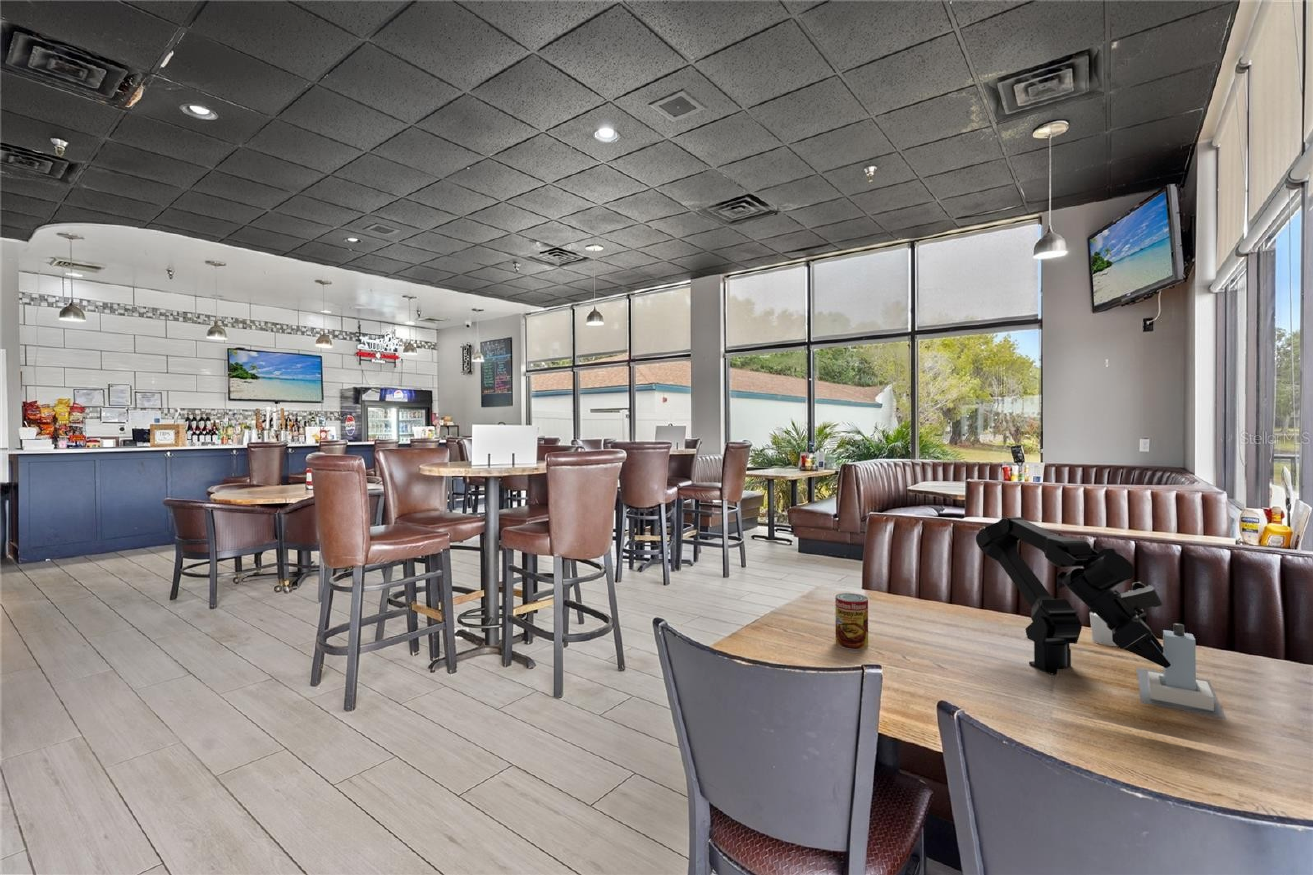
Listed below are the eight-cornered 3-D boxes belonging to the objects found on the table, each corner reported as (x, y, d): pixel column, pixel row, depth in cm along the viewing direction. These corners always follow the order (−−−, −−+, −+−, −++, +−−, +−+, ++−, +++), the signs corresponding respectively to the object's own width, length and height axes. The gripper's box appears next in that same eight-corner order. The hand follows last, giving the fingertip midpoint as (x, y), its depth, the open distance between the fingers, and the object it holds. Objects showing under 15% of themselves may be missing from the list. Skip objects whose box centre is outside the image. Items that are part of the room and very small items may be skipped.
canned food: (834, 647, 150) (833, 599, 150) (837, 638, 157) (836, 592, 157) (867, 651, 147) (867, 602, 147) (869, 641, 154) (868, 594, 154)
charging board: (1226, 724, 109) (1226, 718, 109) (1141, 707, 116) (1141, 701, 116) (1209, 685, 127) (1209, 680, 127) (1136, 672, 134) (1136, 667, 134)
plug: (1165, 697, 117) (1165, 625, 117) (1163, 690, 120) (1162, 619, 121) (1195, 703, 114) (1195, 629, 114) (1192, 695, 118) (1192, 623, 118)
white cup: (1129, 647, 150) (1128, 619, 150) (1097, 645, 151) (1097, 617, 151) (1114, 638, 156) (1113, 611, 156) (1084, 637, 158) (1084, 610, 158)
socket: (1150, 701, 116) (1150, 685, 116) (1148, 685, 124) (1147, 671, 124) (1213, 713, 111) (1213, 697, 111) (1207, 697, 118) (1206, 681, 118)
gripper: (1134, 579, 114) (1213, 649, 108) (1129, 563, 130) (1197, 624, 123) (1083, 614, 119) (1156, 683, 112) (1084, 594, 134) (1148, 654, 128)
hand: (1166, 659), depth 119 cm, fingers open, 9 cm apart
